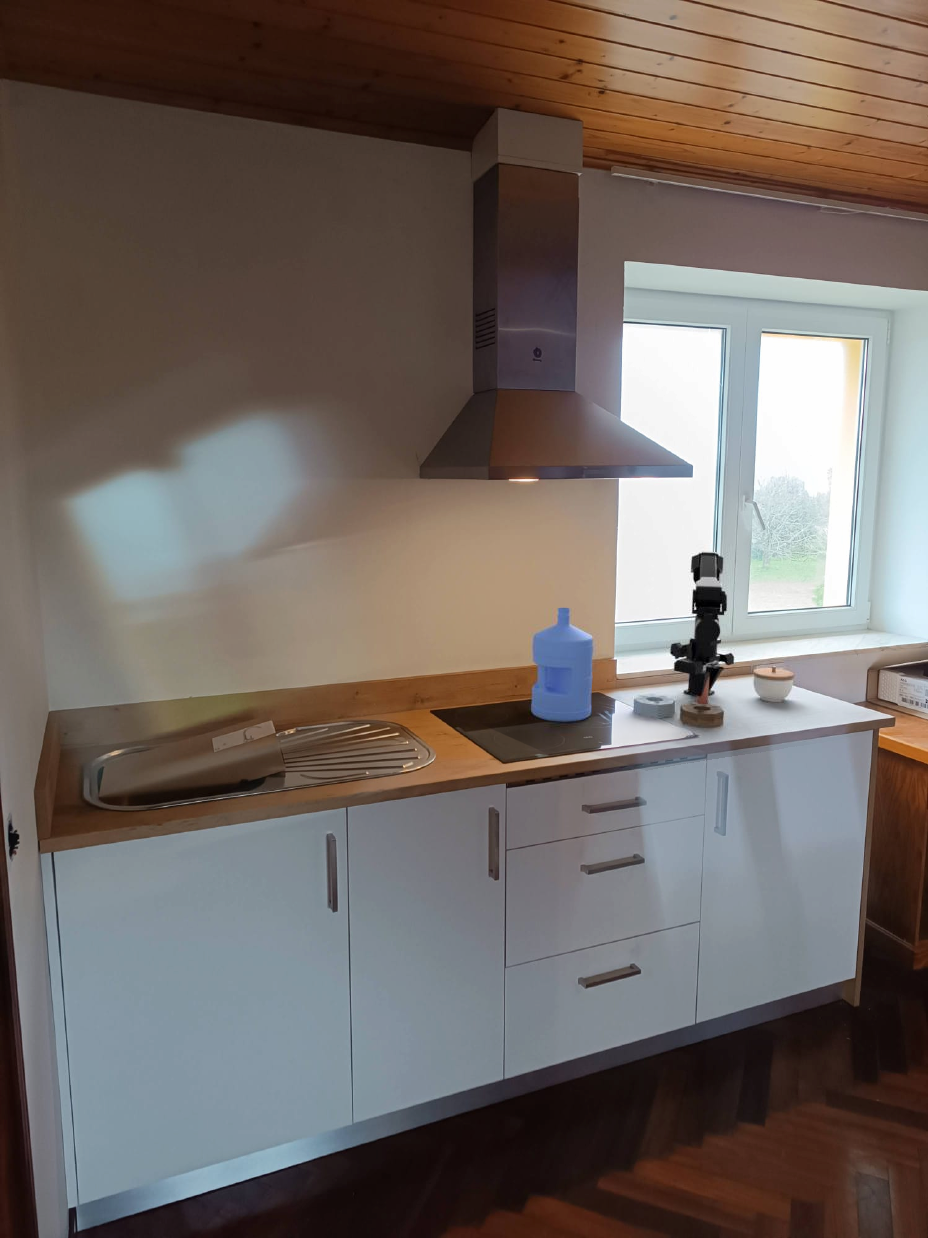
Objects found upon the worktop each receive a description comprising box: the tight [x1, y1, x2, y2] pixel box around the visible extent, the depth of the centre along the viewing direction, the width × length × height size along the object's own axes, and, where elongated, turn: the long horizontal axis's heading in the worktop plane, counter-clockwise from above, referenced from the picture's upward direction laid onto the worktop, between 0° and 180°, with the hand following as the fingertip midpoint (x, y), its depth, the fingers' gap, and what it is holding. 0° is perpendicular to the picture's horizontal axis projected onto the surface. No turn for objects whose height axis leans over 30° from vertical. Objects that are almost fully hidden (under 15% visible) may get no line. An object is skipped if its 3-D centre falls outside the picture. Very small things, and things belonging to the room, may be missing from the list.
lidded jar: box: [752, 665, 795, 703], centre depth 239 cm, size 11×11×9 cm
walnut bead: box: [679, 702, 725, 728], centre depth 218 cm, size 10×10×4 cm
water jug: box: [530, 607, 594, 723], centre depth 221 cm, size 16×16×28 cm
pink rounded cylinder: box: [695, 676, 710, 704], centre depth 217 cm, size 3×3×7 cm
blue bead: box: [632, 693, 676, 719], centre depth 226 cm, size 10×10×4 cm
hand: (702, 695), depth 217 cm, fingers closed on pink rounded cylinder, 3 cm apart
